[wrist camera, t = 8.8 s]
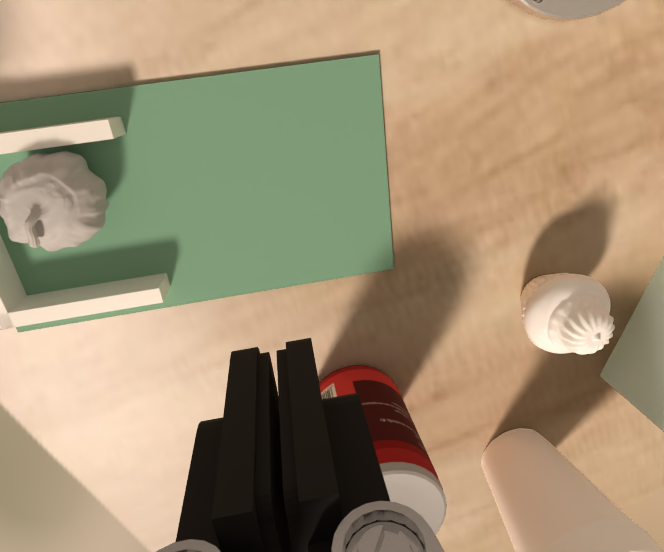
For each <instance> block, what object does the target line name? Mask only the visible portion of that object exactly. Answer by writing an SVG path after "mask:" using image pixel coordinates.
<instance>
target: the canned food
mask: <svg viewBox="0 0 664 552" xmlns="http://www.w3.org/2000/svg"><path fill="white" fill-rule="evenodd" d="M319 386H320V391H321V397H322V399H326V398H332V397H337V396H343V395H348V394H354V393H358V395H359V398H360V401H361V404H362V407H363V411H364V414H365V417H366V421H367V424H368V427H369V431H370V434H371V438H372V441H373V444H374V448H375V451H376V454H377V458H378V461H379V464H380V468H381V471H382V474H383V478H384V481H385V484H386V488H387V491H388V494H389V498H390V501H391V502H397V503H400V504H402V505H405V506H408V507H410V508H412V509H413V510H414V511H416V512H417V513H418V514H420V515H421V516H422V517H423V518H424V519H425V521H426V522H427V523H428V524H429V526H430V527H431V528H432V530H433V532H434V534H435V535H436V534H437V532H438V531H439V529H440V527H441V525H442V524H443V521H444V518H445V515H446V506H447V504H446V499H445V495H444V493H443V488H442V486H441V484H440V481H439V479H438V476H437V474H436V472H435V469H434V467H433V465H432V463H431V461H430V458H429V456H428V454H427V452H426V450H425V447H424V445H423V443H422V441H421V439H420V436H419V434H418V432H417V430H416V428H415V425H414V423H413V421H412V419H411V416H410V414H409V412H408V410H407V408H406V405H405V403H404V401H403V399H402V397H401V394H400V392H399V390H398V388H397V386H396V385H395V383H394V382H393V381H392V380H391V379H390V378H389V377H388V376H386V375H385V374H384V373H382V372H381V371H379V370H377V369H375V368H372V367H368V366H350V367H346V368H342V369H339V370H337V371H335V372H333V373H331V374H330V375H329V376H327V377H326V378H325V379H323V380H322V382H321V383H320V384H319Z"/></svg>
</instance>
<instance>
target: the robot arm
mask: <svg viewBox="0 0 664 552" xmlns="http://www.w3.org/2000/svg"><path fill="white" fill-rule="evenodd" d="M510 1H511V2H512V3H514V4H515V5H517V6H518V7H520V8H521V9H523V10H524V11H526V12H527V13H529V14H532V15H534V16H537V17H540V18H543V19H547V20H556V21H568V20H576V19H583V18H587V17H591V16H595V15H599V14H601V13H603V12H605V11H608V10H610V9H612V8H614V7H616V6H618V5H620V4H621V3H623V2H624V1H626V0H510ZM277 370H278V392H279V396H278V392H277V387H276V382H275V377H274V372H273V367H272V362H271V358H270V354H269V352H267V353H261V354H260V351H259V348H258V347H255V348H250V349H244V350H238V351H232V352H231V358H230V366H229V374H228V383H227V391H226V399H225V408H224V416H223V418H218V419H212V420H207V421H201V422H200V423H199V425H198V428H197V433H196V438H195V443H194V449H193V454H192V459H191V464H190V470H189V475H188V480H187V485H186V491H185V496H184V501H183V506H182V512H181V517H180V522H179V527H178V533H177V538H176V542H175V543H172V544H170V545H168V546H166V547H164V548H162V549H160V550H158V551H157V552H444V550H443V548H442V546H441V545H440V543H439V541H438V539H437V537H436V536H435V534H434V532H433V530H432V528H431V527H430V526H429V524H428V523H427V522H426V521H425V519H424V518H423V517H422V516H421V515H420V514H418V513H417V512H416V511H414V510H413V509H412V508H410V507H408V506H405V505H402V504H400V503H397V502H391V501H390V498H389V494H388V491H387V488H386V484H385V481H384V478H383V474H382V471H381V468H380V464H379V461H378V458H377V454H376V451H375V448H374V444H373V441H372V438H371V434H370V431H369V427H368V424H367V421H366V417H365V414H364V411H363V407H362V404H361V401H360V398H359V395H358V393H354V394H348V395H343V396H337V397H332V398H326V399H322V397H321V391H320V386H319V380H318V375H317V369H316V364H315V358H314V352H313V347H312V341H311V338H307V339H301V340H296V341H290V342H286V349H284V350H278V351H277Z"/></svg>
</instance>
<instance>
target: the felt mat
mask: <svg viewBox="0 0 664 552" xmlns="http://www.w3.org/2000/svg"><path fill="white" fill-rule="evenodd" d="M118 116H121V118H122V121H123V125H124V128H125V132H126V134H125V135H122V136H120V137H117V138H114V139H109V140H101V141H94V142H87V143H79V144H72V145H65V146H58V147H50V148H43V149H36V150H29V151H21V152H14V153H7V154H0V181H1V178H2V175H3V174H4V172H5V171H6V170H7V169H8V168H9V167H10V166H11V165H12V164H14V163H17V162H21V161H22V160H24V159H26V158H28V157H30V156H32V155H34V154H37V153H46V154H52V153H57V152H62V151H67V152H71V153H75V154H78V155H81V156H82V157H83V158H84V159H85V160H86V162H87V165H88V169H89V170H90V171H91V172H92V173H94V174H95V175H96V176H98V177H99V178H101V179H102V180H103V181H104V183H105V185H106V189H107V193H106V199H107V200H108V202H109V207H108V208H107V209H106V210H105V224H104V226H103V227H102V229H101V230H99V231H98V232H97V233H96V235H95V236H94V237H93V238H91V239H89V240H87V241H85V242H84V243H83V244H81V245H80V246H77V247H64V248H62V249H60V250H57V251H47V250H45V249H44V248H43V247H41V246H39V247H37V248H33V247H30V246H29V244H28V243H19V242H14V241H12V240H11V239H10V238H9V236H8V229H7V226H6V224H5V222H4V219H3V218H2V217H1V216H0V235H1V237H2V239H3V242H4V244H5V246H6V249H7V251H8V253H9V255H10V258H11V260H12V262H13V265H14V267H15V269H16V272H17V274H18V276H19V278H20V281H21V283H22V285H23V288H24V290H25V292H26V294H27V295H33V294H39V293H45V292H52V291H58V290H64V289H70V288H76V287H82V286H88V285H95V284H101V283H107V282H113V281H119V280H125V279H131V278H138V277H144V276H150V275H156V274H162V273H167V276H168V280H169V283H170V288H169V291H168V293H167V295H166V297H165V300H164V302H163V303H157V304H151V305H145V306H139V307H133V308H127V309H121V310H115V311H109V312H103V313H97V314H91V315H85V316H79V317H74V318H68V319H62V320H56V321H50V322H44V323H38V324H32V325H26V326H20V327H16V329H17V331H18V332H23V331H29V330H35V329H41V328H47V327H53V326H59V325H65V324H71V323H77V322H82V321H88V320H94V319H100V318H106V317H112V316H118V315H124V314H130V313H136V312H142V311H148V310H153V309H159V308H165V307H171V306H177V305H183V304H189V303H195V302H201V301H207V300H213V299H219V298H225V297H230V296H236V295H242V294H248V293H254V292H260V291H266V290H272V289H278V288H284V287H290V286H296V285H302V284H307V283H313V282H319V281H325V280H331V279H337V278H343V277H349V276H355V275H361V274H367V273H373V272H378V271H384V270H390V269H394V263H393V248H392V234H391V220H390V205H389V191H388V177H387V163H386V148H385V134H384V120H383V106H382V91H381V77H380V63H379V54H377V55H369V56H361V57H353V58H346V59H338V60H330V61H322V62H315V63H307V64H299V65H291V66H284V67H276V68H268V69H260V70H252V71H245V72H237V73H229V74H221V75H214V76H206V77H198V78H190V79H182V80H175V81H167V82H159V83H151V84H144V85H136V86H128V87H120V88H113V89H105V90H97V91H89V92H81V93H74V94H66V95H58V96H50V97H43V98H35V99H27V100H19V101H11V102H4V103H0V132H6V131H14V130H21V129H29V128H36V127H44V126H51V125H59V124H66V123H74V122H81V121H89V120H96V119H104V118H111V117H118Z"/></svg>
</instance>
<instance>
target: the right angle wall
mask: <svg viewBox="0 0 664 552" xmlns="http://www.w3.org/2000/svg"><path fill="white" fill-rule="evenodd" d="M600 377H601V378H602V379H604V380H605V381H606V382H607V383H608V384H609V385H610V386H612V387H613V388H614V389H615V390H616V391H617V392H619V393H620V394H621V395H622V396H623V397H624V398H625V399H627V400H628V401H629V402H630V403H631V404H632V405H633V406H635V407H636V408H637V409H638V410H639V411H640V412H642V413H643V414H644V415H645V416H646V417H647V418H648V419H650V420H651V421H652V422H653V423H654V424H655V425H656V426H658V427H659V428H660V429H661V430H662V431H663V432H664V256H663V258H662V260H661V262H660V264H659V266H658V267H657V269H656V271H655V273H654V275H653V277H652V279H651V281H650V282H649V284H648V286H647V288H646V290H645V292H644V294H643V295H642V297H641V299H640V301H639V303H638V305H637V307H636V309H635V310H634V312H633V314H632V316H631V318H630V320H629V322H628V323H627V325H626V327H625V329H624V331H623V333H622V335H621V337H620V338H619V340H618V342H617V344H616V346H615V348H614V350H613V351H612V353H611V355H610V357H609V359H608V361H607V363H606V365H605V366H604V368H603V370H602V372H601V374H600Z"/></svg>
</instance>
